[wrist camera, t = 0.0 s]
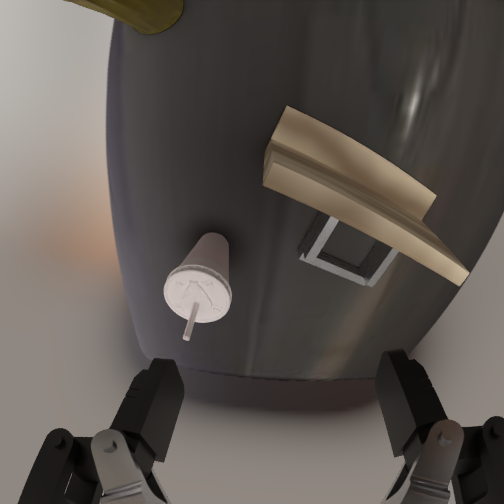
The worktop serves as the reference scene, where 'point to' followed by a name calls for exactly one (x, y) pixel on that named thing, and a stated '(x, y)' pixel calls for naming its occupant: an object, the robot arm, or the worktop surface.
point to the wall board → (355, 189)
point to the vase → (138, 12)
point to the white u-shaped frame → (362, 275)
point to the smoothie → (201, 283)
